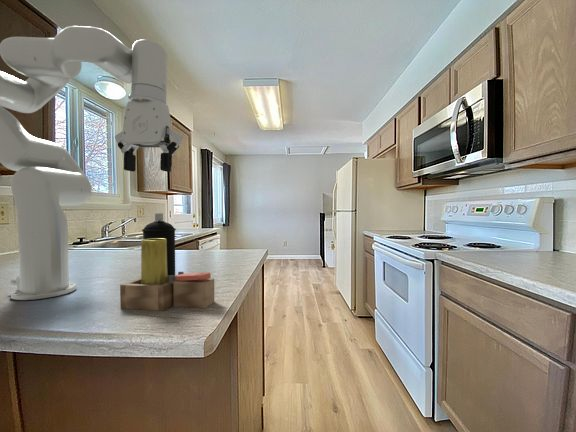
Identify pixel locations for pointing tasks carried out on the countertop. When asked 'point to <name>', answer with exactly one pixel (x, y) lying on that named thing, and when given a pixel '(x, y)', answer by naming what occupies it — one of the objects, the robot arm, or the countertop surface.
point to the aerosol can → (163, 231)
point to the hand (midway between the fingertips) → (147, 170)
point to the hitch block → (167, 294)
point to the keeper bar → (192, 276)
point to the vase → (154, 261)
